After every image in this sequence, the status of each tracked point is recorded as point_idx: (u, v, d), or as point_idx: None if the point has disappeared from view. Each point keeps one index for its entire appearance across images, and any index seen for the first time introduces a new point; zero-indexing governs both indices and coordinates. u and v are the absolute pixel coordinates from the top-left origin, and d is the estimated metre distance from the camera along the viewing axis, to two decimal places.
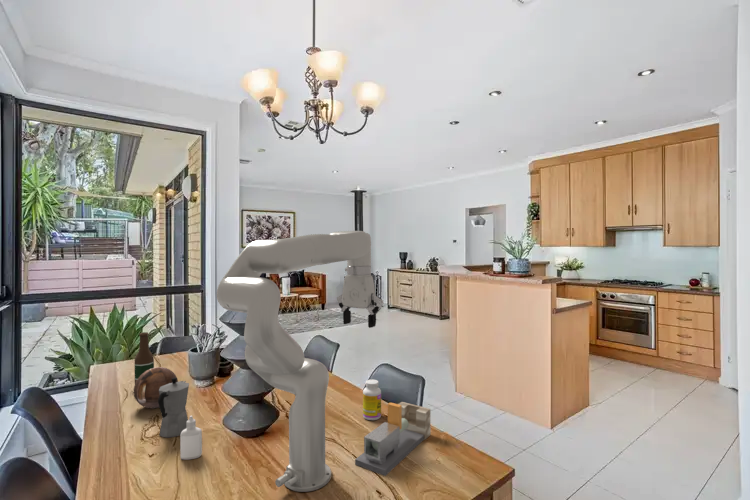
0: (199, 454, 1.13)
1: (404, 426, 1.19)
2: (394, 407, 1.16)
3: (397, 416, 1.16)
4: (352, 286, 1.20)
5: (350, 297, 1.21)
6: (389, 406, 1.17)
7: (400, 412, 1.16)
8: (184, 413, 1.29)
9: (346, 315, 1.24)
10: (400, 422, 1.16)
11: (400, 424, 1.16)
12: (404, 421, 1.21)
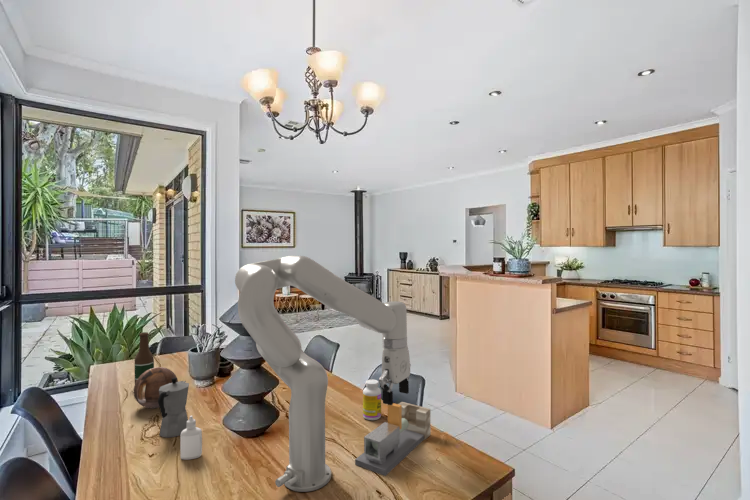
0: (199, 454, 1.13)
1: (404, 426, 1.19)
2: (394, 407, 1.16)
3: (397, 416, 1.16)
4: (402, 359, 1.15)
5: (401, 371, 1.15)
6: (389, 406, 1.17)
7: (400, 412, 1.16)
8: (184, 413, 1.29)
9: None
10: (400, 422, 1.16)
11: (400, 424, 1.16)
12: (404, 421, 1.21)
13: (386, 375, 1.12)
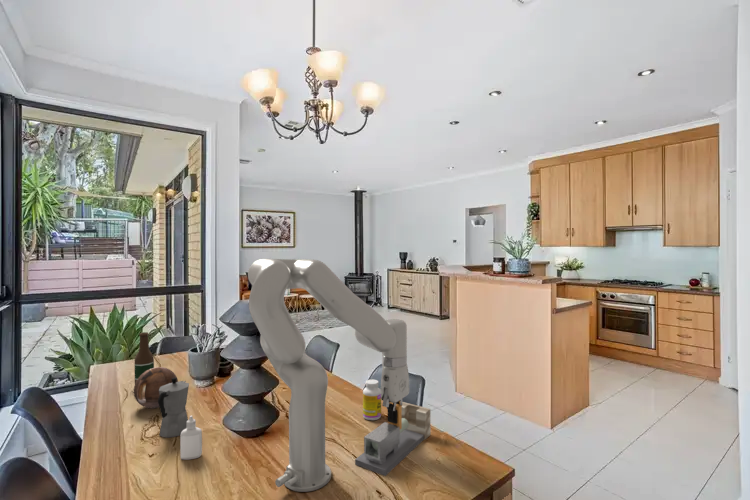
0: (199, 454, 1.13)
1: (404, 426, 1.19)
2: None
3: None
4: (401, 377, 1.15)
5: (400, 390, 1.15)
6: None
7: (400, 412, 1.16)
8: (184, 413, 1.29)
9: None
10: (400, 422, 1.16)
11: (400, 424, 1.16)
12: (404, 421, 1.21)
13: (387, 402, 1.13)
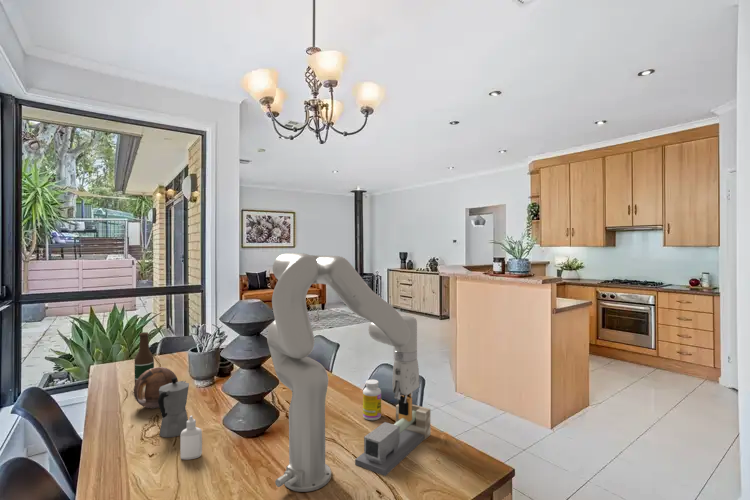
0: (199, 454, 1.13)
1: (414, 418, 1.25)
2: None
3: None
4: (412, 371, 1.21)
5: (410, 383, 1.20)
6: None
7: (411, 404, 1.22)
8: (184, 413, 1.29)
9: None
10: (411, 414, 1.22)
11: (411, 416, 1.22)
12: (414, 413, 1.27)
13: (398, 395, 1.18)
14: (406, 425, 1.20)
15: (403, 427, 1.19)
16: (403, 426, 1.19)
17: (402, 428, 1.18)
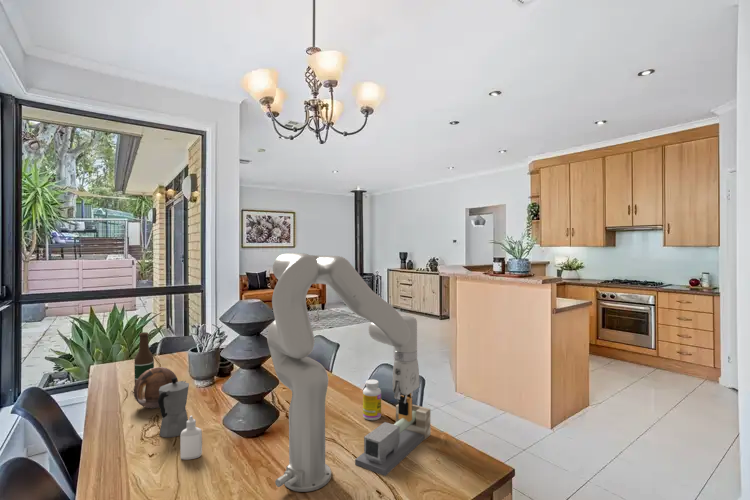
0: (199, 454, 1.13)
1: (414, 418, 1.25)
2: None
3: None
4: (412, 371, 1.21)
5: (411, 383, 1.20)
6: None
7: (411, 404, 1.22)
8: (184, 413, 1.29)
9: None
10: (410, 414, 1.22)
11: (410, 416, 1.22)
12: (414, 413, 1.26)
13: (398, 395, 1.18)
14: (406, 425, 1.20)
15: (403, 427, 1.19)
16: (403, 426, 1.19)
17: (402, 428, 1.18)
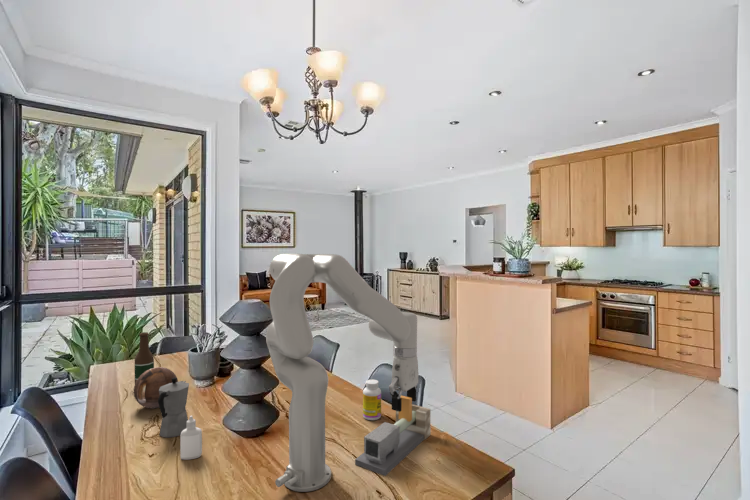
0: (199, 454, 1.13)
1: (414, 418, 1.25)
2: (405, 399, 1.22)
3: (407, 408, 1.22)
4: (411, 367, 1.21)
5: (410, 379, 1.20)
6: None
7: (411, 404, 1.22)
8: (184, 413, 1.29)
9: None
10: (410, 414, 1.22)
11: (410, 416, 1.22)
12: (414, 413, 1.26)
13: (396, 382, 1.17)
14: (406, 425, 1.20)
15: (403, 427, 1.19)
16: (403, 426, 1.19)
17: (402, 428, 1.18)
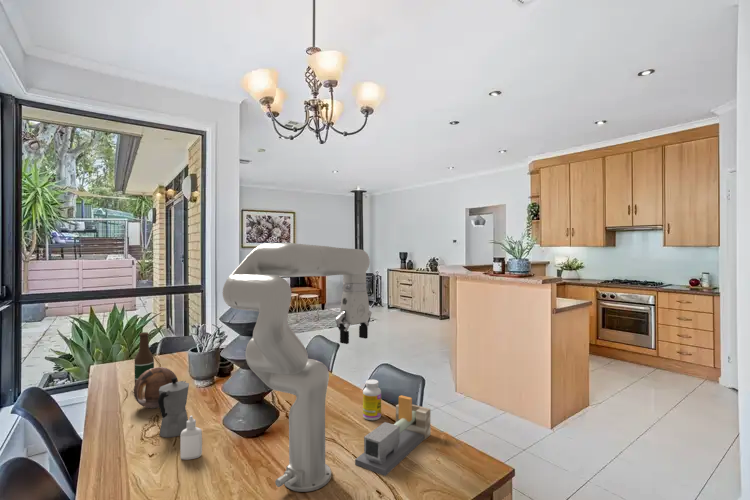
0: (199, 454, 1.13)
1: (414, 418, 1.25)
2: (405, 399, 1.22)
3: (407, 408, 1.22)
4: (360, 302, 1.24)
5: (358, 314, 1.23)
6: (400, 399, 1.23)
7: (411, 404, 1.22)
8: (184, 413, 1.29)
9: None
10: (410, 414, 1.22)
11: (410, 416, 1.22)
12: (414, 413, 1.26)
13: (343, 315, 1.21)
14: (406, 425, 1.20)
15: (403, 427, 1.19)
16: (403, 426, 1.19)
17: (402, 428, 1.18)
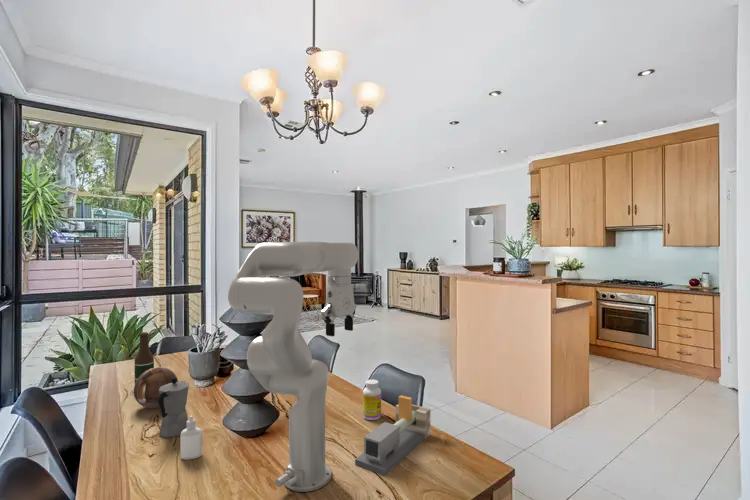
0: (199, 454, 1.13)
1: (414, 418, 1.25)
2: (405, 399, 1.22)
3: (407, 408, 1.22)
4: (345, 295, 1.25)
5: (343, 306, 1.24)
6: (400, 399, 1.23)
7: (411, 404, 1.22)
8: (184, 413, 1.29)
9: None
10: (410, 414, 1.22)
11: (410, 416, 1.22)
12: (414, 413, 1.26)
13: (328, 308, 1.21)
14: (406, 425, 1.20)
15: (403, 427, 1.19)
16: (403, 426, 1.19)
17: (402, 428, 1.18)
